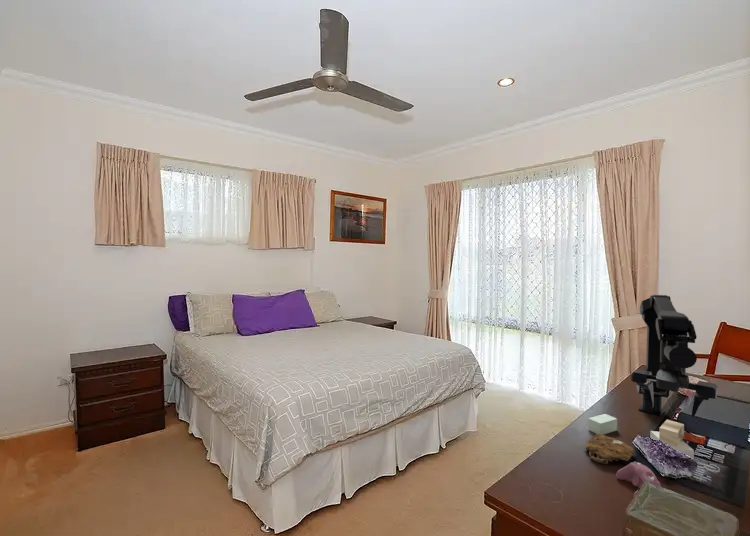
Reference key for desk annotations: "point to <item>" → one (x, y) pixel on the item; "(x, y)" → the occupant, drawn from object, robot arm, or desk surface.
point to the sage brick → (602, 424)
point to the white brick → (681, 447)
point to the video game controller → (637, 475)
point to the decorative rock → (608, 449)
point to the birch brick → (671, 432)
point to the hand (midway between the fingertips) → (671, 412)
